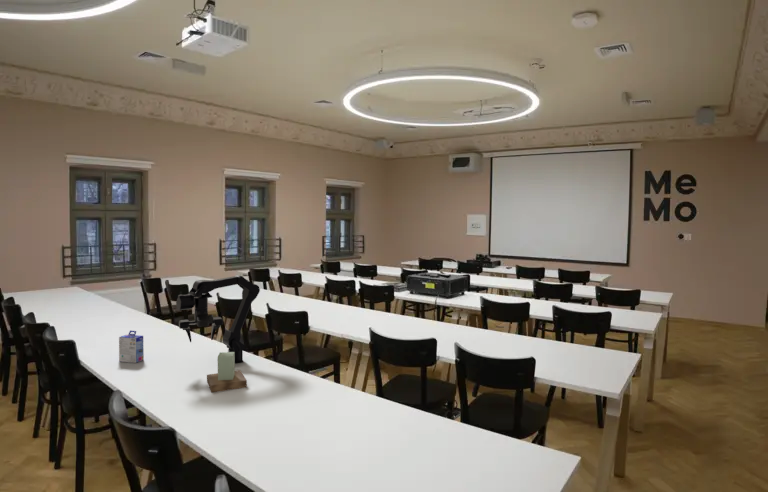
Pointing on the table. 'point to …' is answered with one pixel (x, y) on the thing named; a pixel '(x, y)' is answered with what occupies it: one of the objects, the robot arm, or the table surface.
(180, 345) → the table surface
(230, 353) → the sage block
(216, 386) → the walnut plinth
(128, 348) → the ink cartridge box
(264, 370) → the table surface
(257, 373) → the table surface
